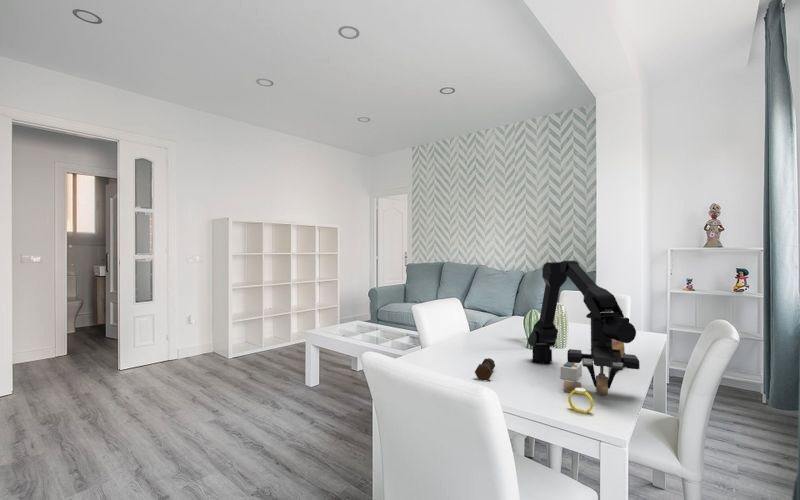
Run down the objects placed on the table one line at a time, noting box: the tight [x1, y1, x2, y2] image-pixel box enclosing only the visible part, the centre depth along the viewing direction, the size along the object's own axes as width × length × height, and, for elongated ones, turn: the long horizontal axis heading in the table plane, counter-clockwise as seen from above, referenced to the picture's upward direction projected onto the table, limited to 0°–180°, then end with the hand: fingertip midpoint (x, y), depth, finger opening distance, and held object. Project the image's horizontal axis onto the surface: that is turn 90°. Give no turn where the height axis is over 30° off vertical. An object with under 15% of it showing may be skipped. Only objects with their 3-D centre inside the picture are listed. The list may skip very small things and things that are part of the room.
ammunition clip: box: [612, 339, 626, 369], centre depth 137 cm, size 11×2×12 cm, turn 131°
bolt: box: [474, 358, 496, 381], centre depth 134 cm, size 6×5×15 cm
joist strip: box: [563, 380, 583, 395], centre depth 127 cm, size 5×25×1 cm, turn 156°
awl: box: [595, 366, 609, 397], centre depth 115 cm, size 3×3×9 cm
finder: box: [559, 361, 583, 382], centre depth 130 cm, size 5×7×4 cm
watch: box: [567, 387, 594, 414], centre depth 103 cm, size 6×3×6 cm, turn 51°
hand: (601, 387), depth 115 cm, fingers closed on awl, 3 cm apart
